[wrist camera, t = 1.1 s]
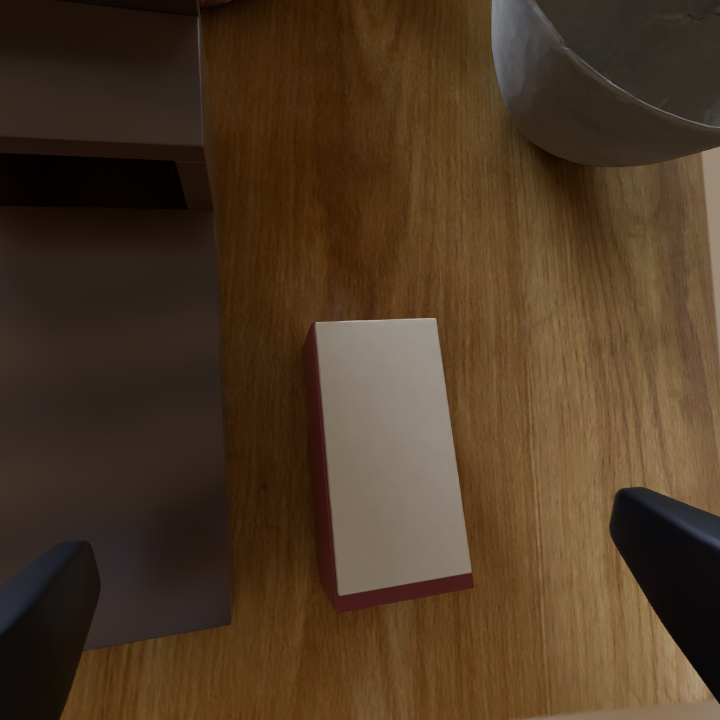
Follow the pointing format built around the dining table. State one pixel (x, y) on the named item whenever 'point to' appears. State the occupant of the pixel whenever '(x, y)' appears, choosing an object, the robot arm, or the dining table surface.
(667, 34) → the bowl
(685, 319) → the dining table surface
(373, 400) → the red white box
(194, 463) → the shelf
